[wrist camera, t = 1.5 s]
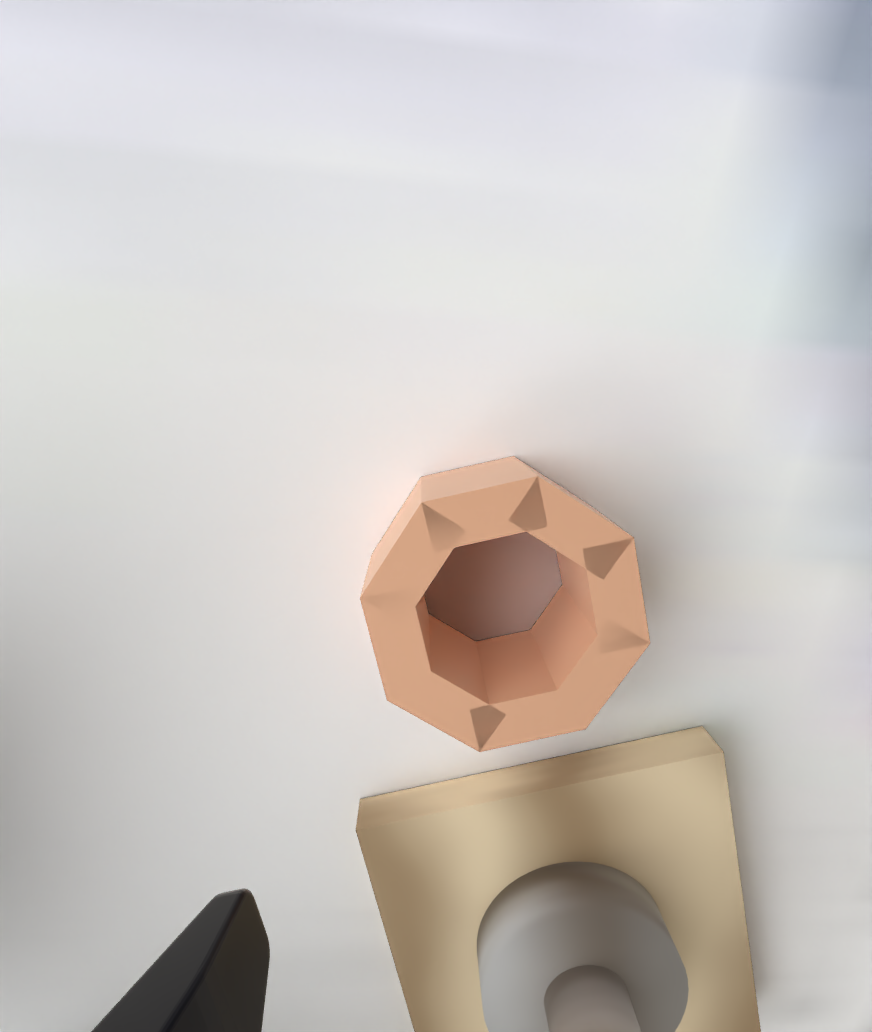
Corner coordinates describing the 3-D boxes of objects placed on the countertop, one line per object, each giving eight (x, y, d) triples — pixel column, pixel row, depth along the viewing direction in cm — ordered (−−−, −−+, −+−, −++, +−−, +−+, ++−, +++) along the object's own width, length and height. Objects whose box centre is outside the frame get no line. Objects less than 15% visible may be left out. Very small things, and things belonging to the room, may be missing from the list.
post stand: (435, 1062, 24) (444, 1426, 16) (360, 799, 21) (322, 1067, 13) (740, 1000, 24) (915, 1336, 15) (702, 726, 21) (886, 952, 13)
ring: (407, 693, 20) (404, 767, 17) (355, 491, 19) (339, 520, 15) (614, 648, 20) (661, 713, 16) (579, 441, 19) (621, 457, 15)
